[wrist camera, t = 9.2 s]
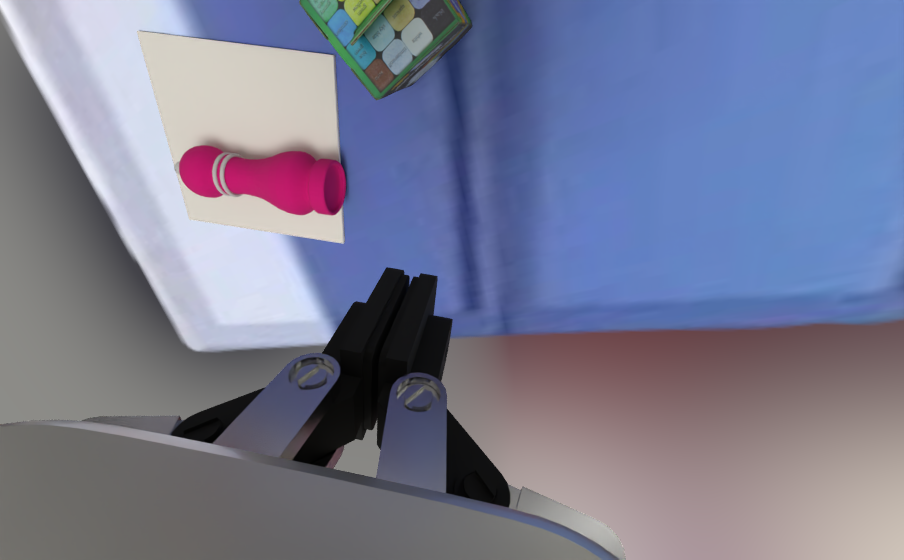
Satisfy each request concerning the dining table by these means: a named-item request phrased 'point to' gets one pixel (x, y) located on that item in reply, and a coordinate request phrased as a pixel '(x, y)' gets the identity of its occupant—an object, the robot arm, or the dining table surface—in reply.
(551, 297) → the dining table surface
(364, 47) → the chalk box
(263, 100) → the rubber mat
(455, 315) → the dining table surface
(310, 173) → the pepper mill
